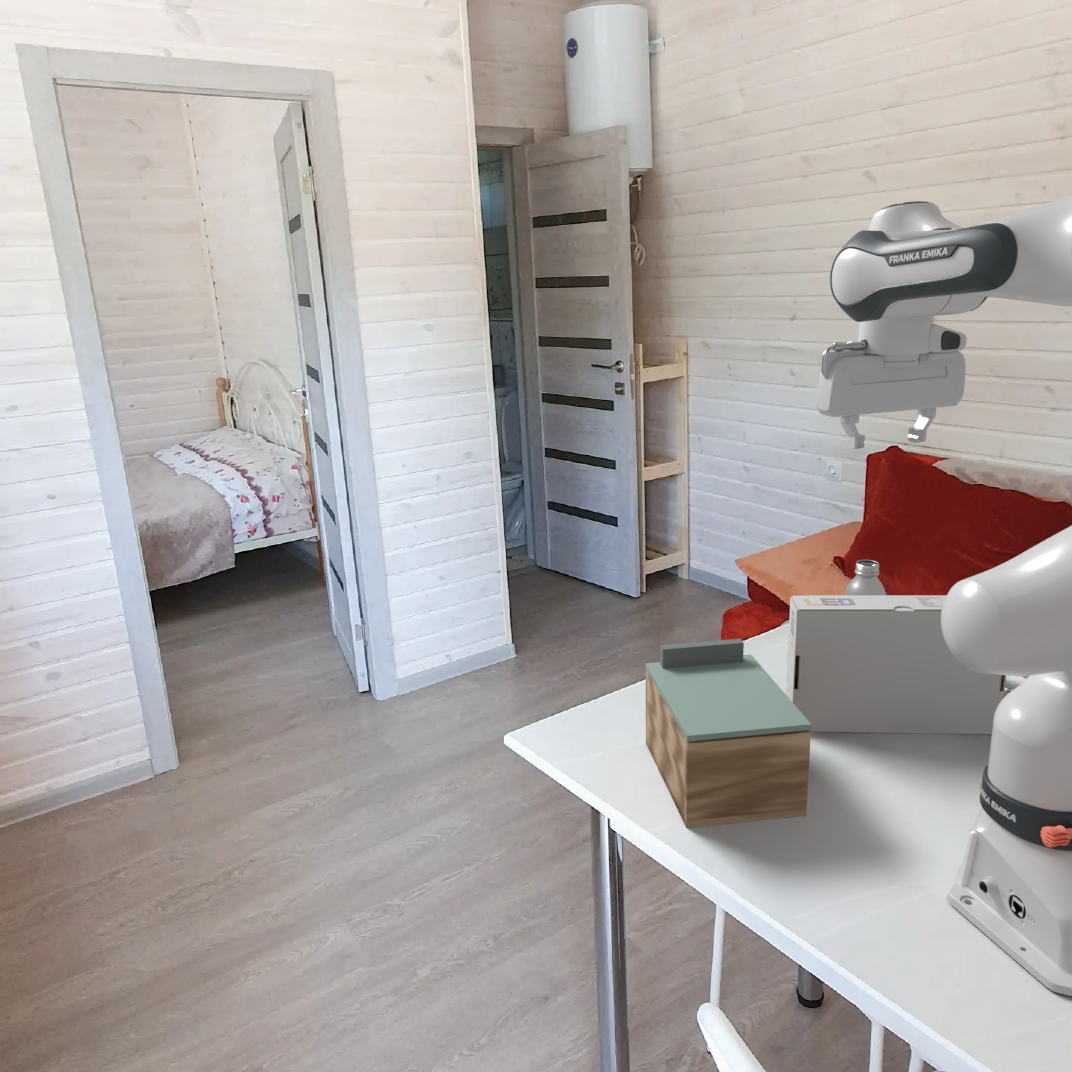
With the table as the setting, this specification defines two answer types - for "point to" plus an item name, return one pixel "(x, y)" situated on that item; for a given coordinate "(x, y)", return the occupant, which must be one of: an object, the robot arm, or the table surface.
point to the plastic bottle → (865, 579)
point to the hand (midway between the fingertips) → (886, 445)
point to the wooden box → (728, 770)
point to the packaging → (883, 668)
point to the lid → (721, 692)
